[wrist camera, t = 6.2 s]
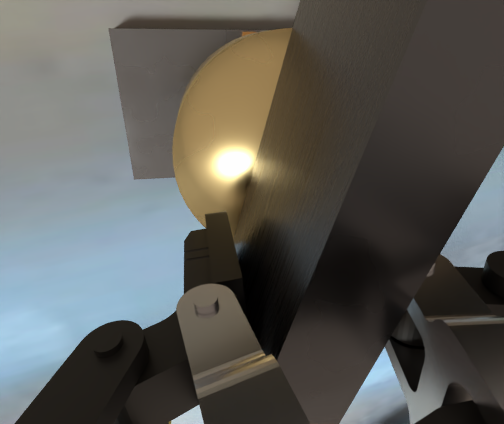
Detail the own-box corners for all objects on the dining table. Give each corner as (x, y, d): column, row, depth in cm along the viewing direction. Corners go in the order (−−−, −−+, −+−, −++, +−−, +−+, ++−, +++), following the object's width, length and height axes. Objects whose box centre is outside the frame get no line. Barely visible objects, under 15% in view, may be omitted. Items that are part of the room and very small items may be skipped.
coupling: (200, -23, 11) (221, -196, 3) (395, 44, 13) (723, 49, 5) (158, 227, 15) (118, 441, 7) (312, 250, 17) (420, 438, 9)
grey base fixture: (365, 31, 19) (445, 26, 13) (346, 163, 23) (402, 208, 17) (113, 29, 17) (68, 22, 11) (136, 173, 21) (113, 228, 15)
